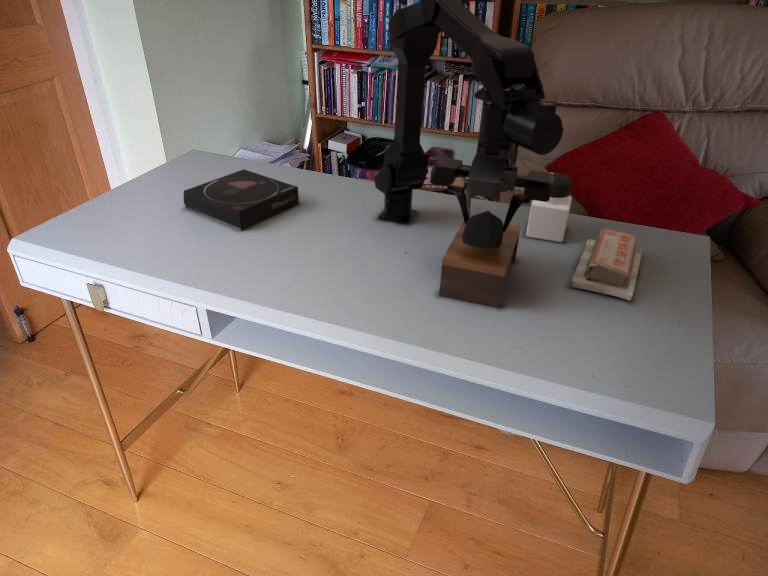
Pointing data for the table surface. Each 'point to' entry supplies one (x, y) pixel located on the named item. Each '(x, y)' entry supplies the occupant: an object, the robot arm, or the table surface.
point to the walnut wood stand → (478, 269)
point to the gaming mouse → (483, 231)
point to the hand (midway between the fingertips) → (485, 227)
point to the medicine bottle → (551, 212)
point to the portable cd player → (241, 198)
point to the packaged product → (609, 264)
